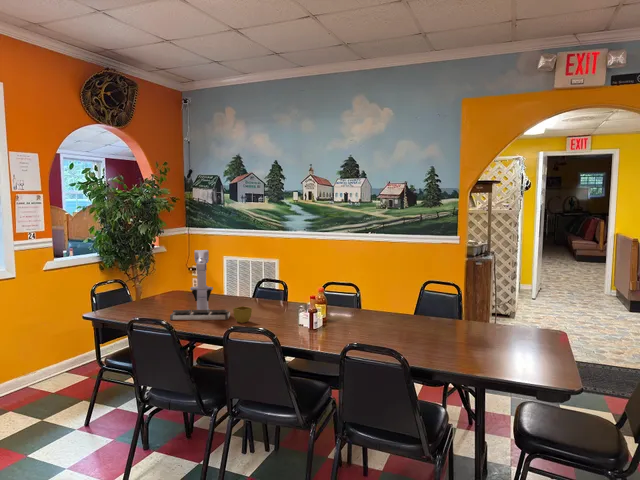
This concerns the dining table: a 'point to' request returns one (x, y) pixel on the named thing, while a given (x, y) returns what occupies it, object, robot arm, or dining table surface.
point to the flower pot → (242, 314)
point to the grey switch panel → (200, 316)
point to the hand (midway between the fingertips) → (202, 300)
